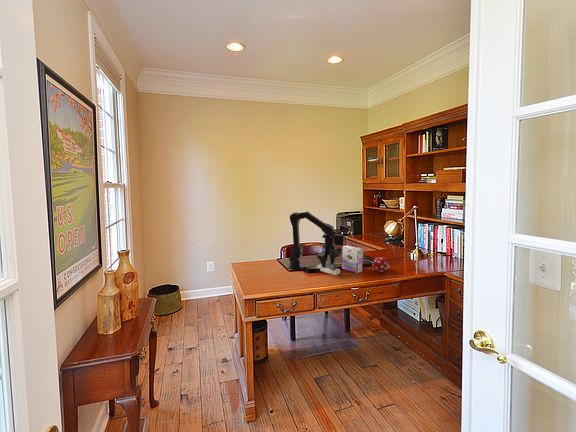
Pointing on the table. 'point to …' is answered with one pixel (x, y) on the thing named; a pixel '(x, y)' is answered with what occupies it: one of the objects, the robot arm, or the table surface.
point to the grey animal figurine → (330, 266)
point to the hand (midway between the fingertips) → (328, 266)
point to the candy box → (352, 259)
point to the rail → (329, 270)
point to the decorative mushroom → (380, 265)
